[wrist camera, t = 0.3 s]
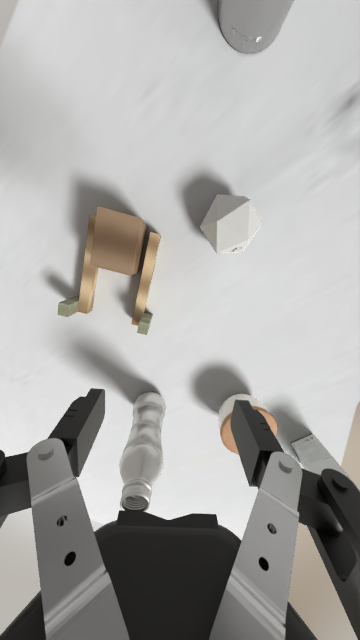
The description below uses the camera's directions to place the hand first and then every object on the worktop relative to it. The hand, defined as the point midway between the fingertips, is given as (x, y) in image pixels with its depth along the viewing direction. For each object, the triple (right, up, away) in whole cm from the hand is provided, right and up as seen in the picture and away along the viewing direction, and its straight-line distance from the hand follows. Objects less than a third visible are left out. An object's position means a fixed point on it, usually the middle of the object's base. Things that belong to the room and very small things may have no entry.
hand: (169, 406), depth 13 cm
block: (-9, +18, +23) cm, 31 cm away
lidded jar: (+13, -14, +34) cm, 39 cm away
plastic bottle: (-6, -12, +33) cm, 35 cm away
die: (+8, +21, +23) cm, 33 cm away
